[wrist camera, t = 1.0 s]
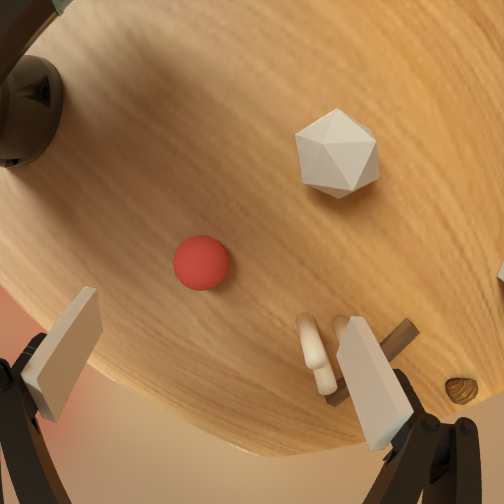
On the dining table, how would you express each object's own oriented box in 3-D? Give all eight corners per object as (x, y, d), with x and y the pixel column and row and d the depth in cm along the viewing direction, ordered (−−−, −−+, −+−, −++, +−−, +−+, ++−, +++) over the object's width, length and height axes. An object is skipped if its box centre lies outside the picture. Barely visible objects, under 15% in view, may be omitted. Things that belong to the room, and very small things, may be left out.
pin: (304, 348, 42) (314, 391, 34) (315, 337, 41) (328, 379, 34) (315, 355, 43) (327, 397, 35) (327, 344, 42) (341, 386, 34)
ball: (170, 257, 37) (157, 279, 31) (197, 218, 35) (188, 235, 29) (210, 284, 38) (205, 310, 32) (239, 248, 36) (238, 270, 31)
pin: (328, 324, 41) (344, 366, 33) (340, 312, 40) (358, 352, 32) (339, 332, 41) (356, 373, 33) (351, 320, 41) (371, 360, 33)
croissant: (482, 379, 49) (492, 393, 45) (462, 400, 51) (471, 415, 47) (457, 366, 47) (469, 382, 42) (434, 390, 49) (444, 407, 44)
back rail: (324, 392, 46) (327, 403, 44) (406, 317, 41) (413, 327, 39) (332, 396, 46) (335, 407, 44) (413, 323, 41) (419, 332, 39)
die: (340, 202, 35) (408, 188, 27) (281, 203, 31) (353, 183, 22) (329, 137, 35) (391, 111, 27) (271, 128, 31) (334, 90, 22)
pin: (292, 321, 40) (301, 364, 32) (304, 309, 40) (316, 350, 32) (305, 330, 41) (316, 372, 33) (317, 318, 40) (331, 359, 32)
